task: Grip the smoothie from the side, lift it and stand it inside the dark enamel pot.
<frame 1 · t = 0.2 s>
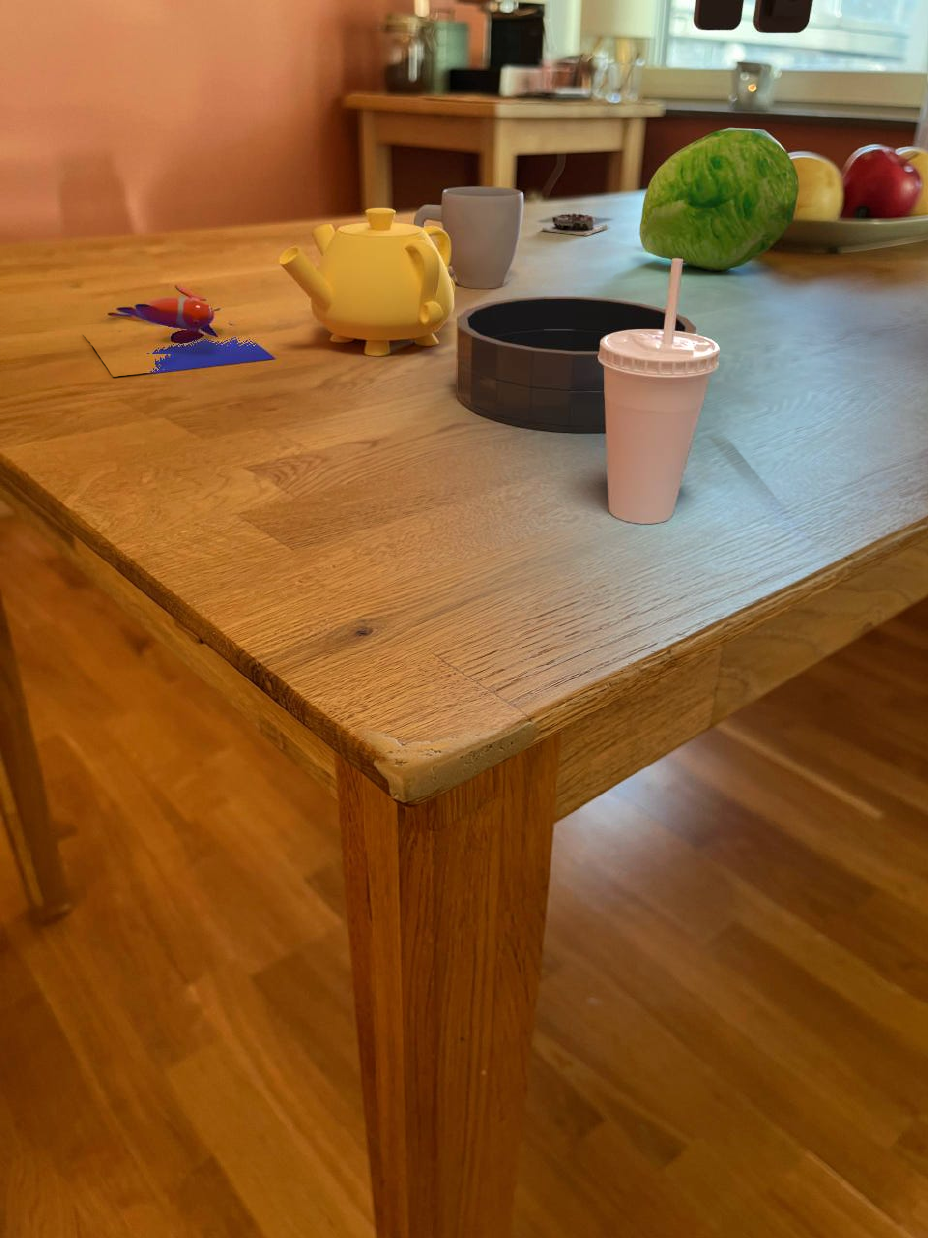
hand: (745, 31, 45), 24 cm above the table, tool pointing down, fingers open, 8 cm apart
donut: (576, 231, 145), on the table
fish: (176, 348, 87), on the table
lettuce: (705, 268, 121), on the table
mug: (466, 284, 111), on the table
smoothie: (640, 513, 57), on the table
pot: (570, 394, 76), on the table
teapot: (370, 342, 89), on the table
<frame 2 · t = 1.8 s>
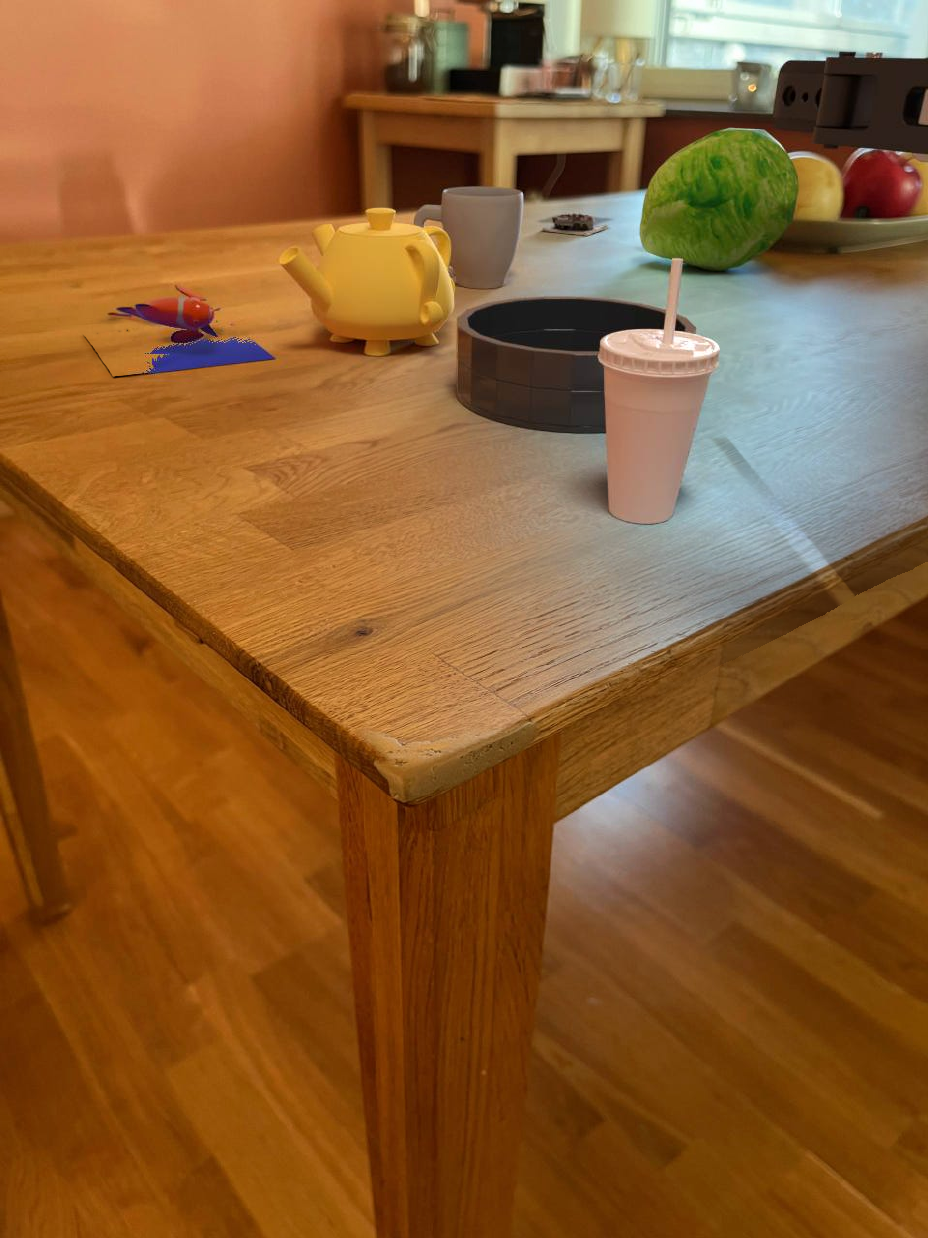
hand: (868, 94, 37), 22 cm above the table, tool horizontal, fingers open, 8 cm apart
nothing on the table moved.
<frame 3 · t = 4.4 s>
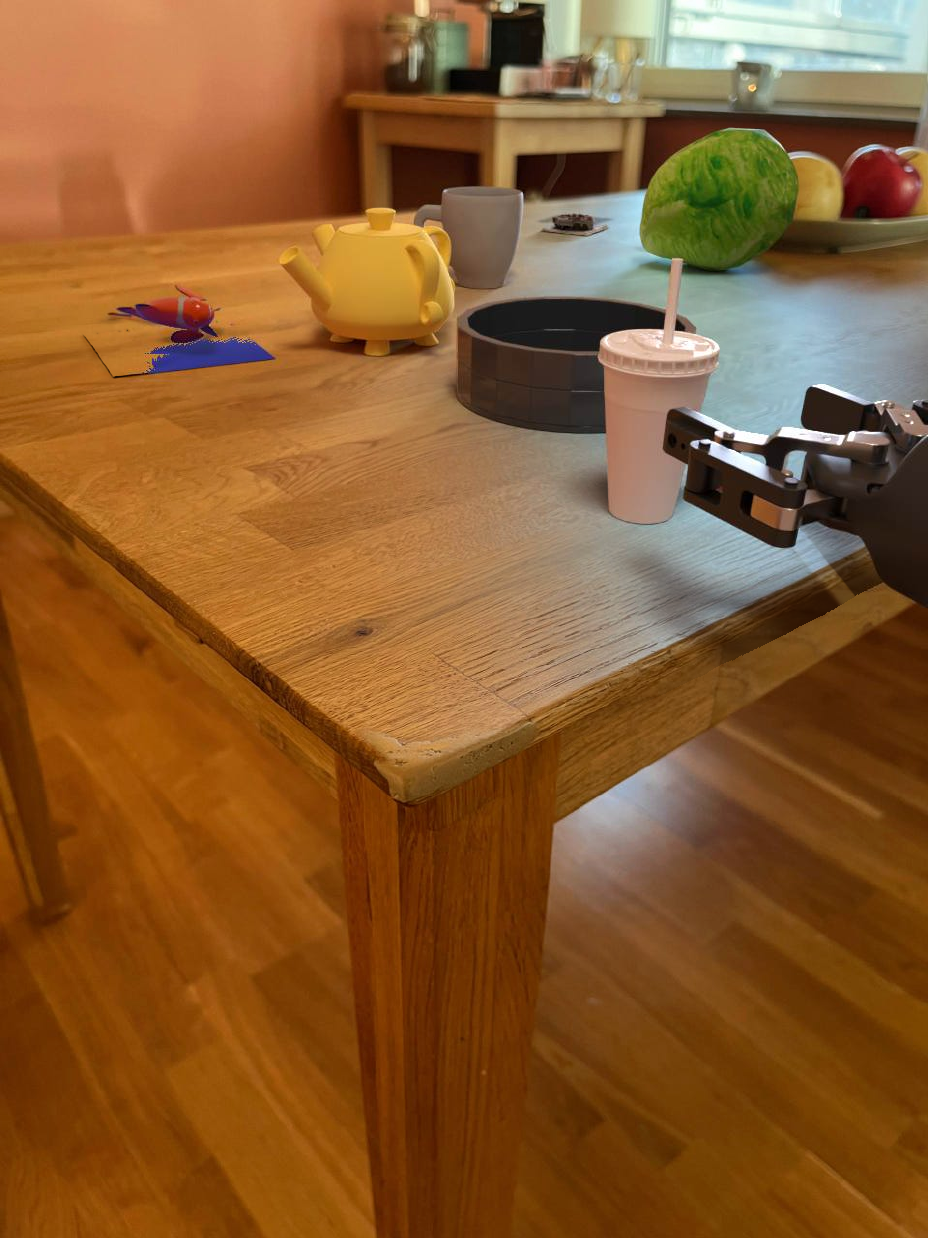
hand: (741, 415, 48), 8 cm above the table, tool horizontal, fingers open, 8 cm apart
nothing on the table moved.
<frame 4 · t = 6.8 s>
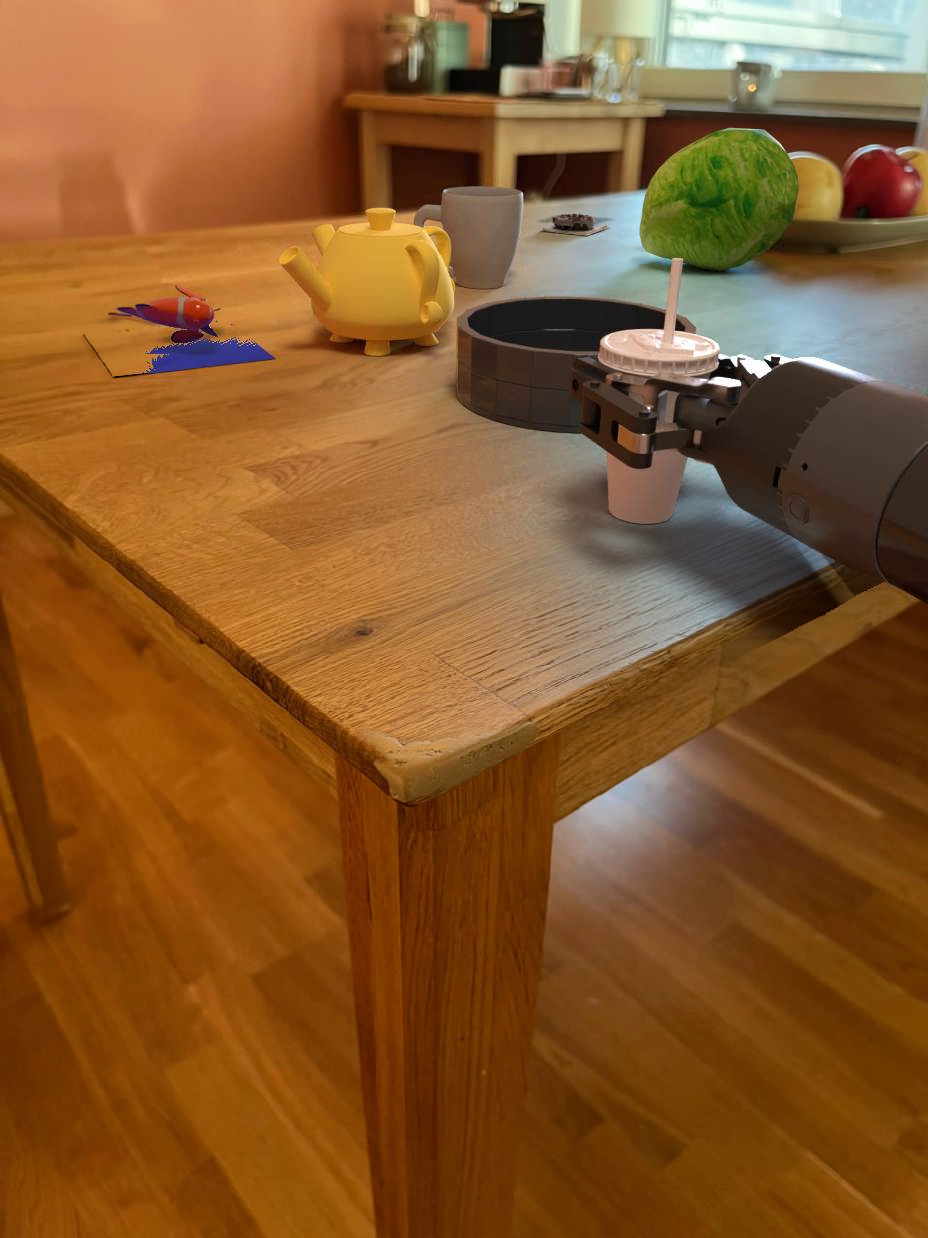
hand: (630, 368, 55), 8 cm above the table, tool horizontal, fingers closed on smoothie, 6 cm apart
smoothie: (640, 513, 57), on the table, touching gripper
everything else where it was.
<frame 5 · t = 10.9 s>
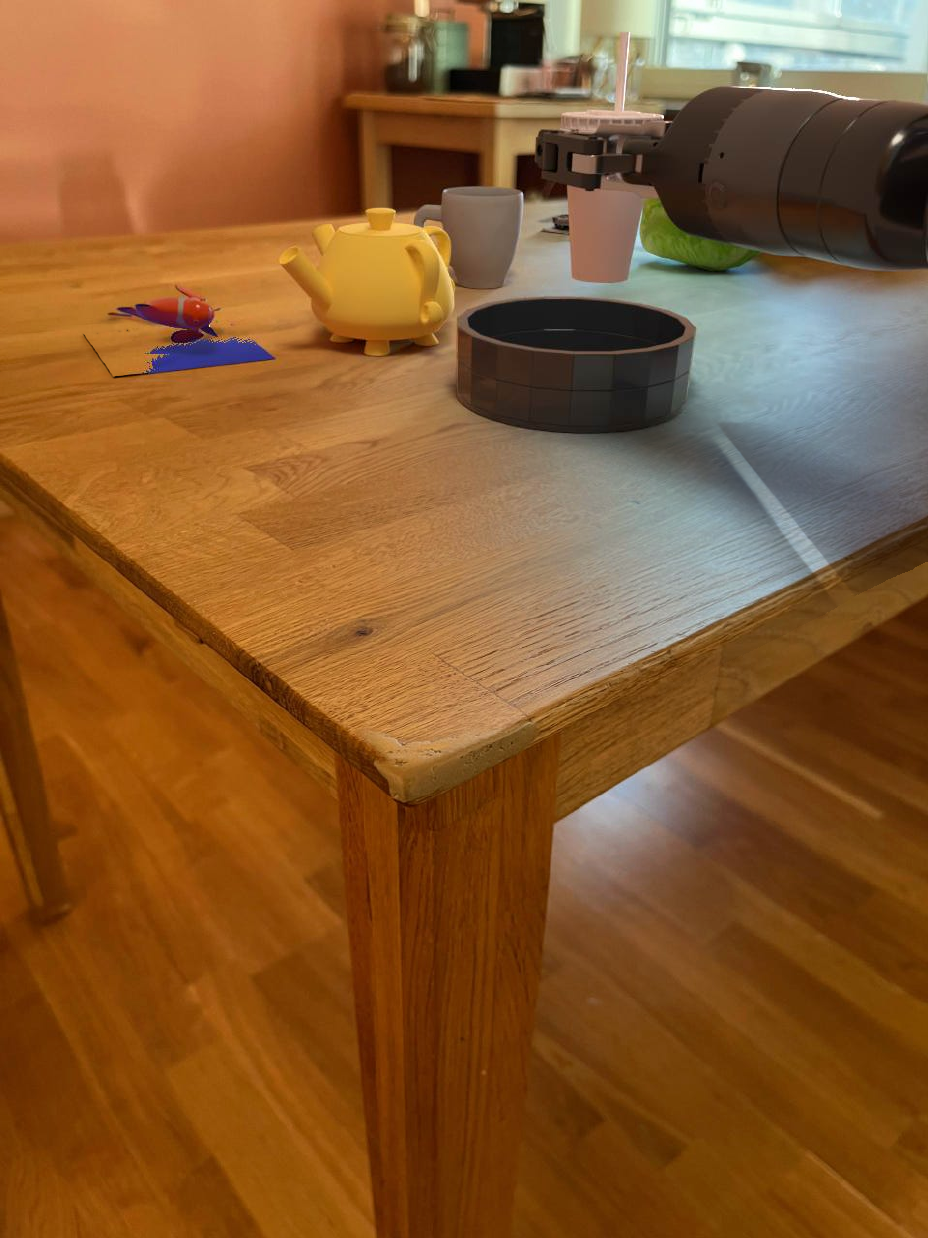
hand: (588, 146, 63), 18 cm above the table, tool horizontal, fingers closed on smoothie, 6 cm apart
smoothie: (599, 280, 65), point 10 cm above the table, touching gripper
everything else where it was.
when the fingers open (8 cm above the table, at t = 15.0 s): smoothie stays where it is, resting on pot.
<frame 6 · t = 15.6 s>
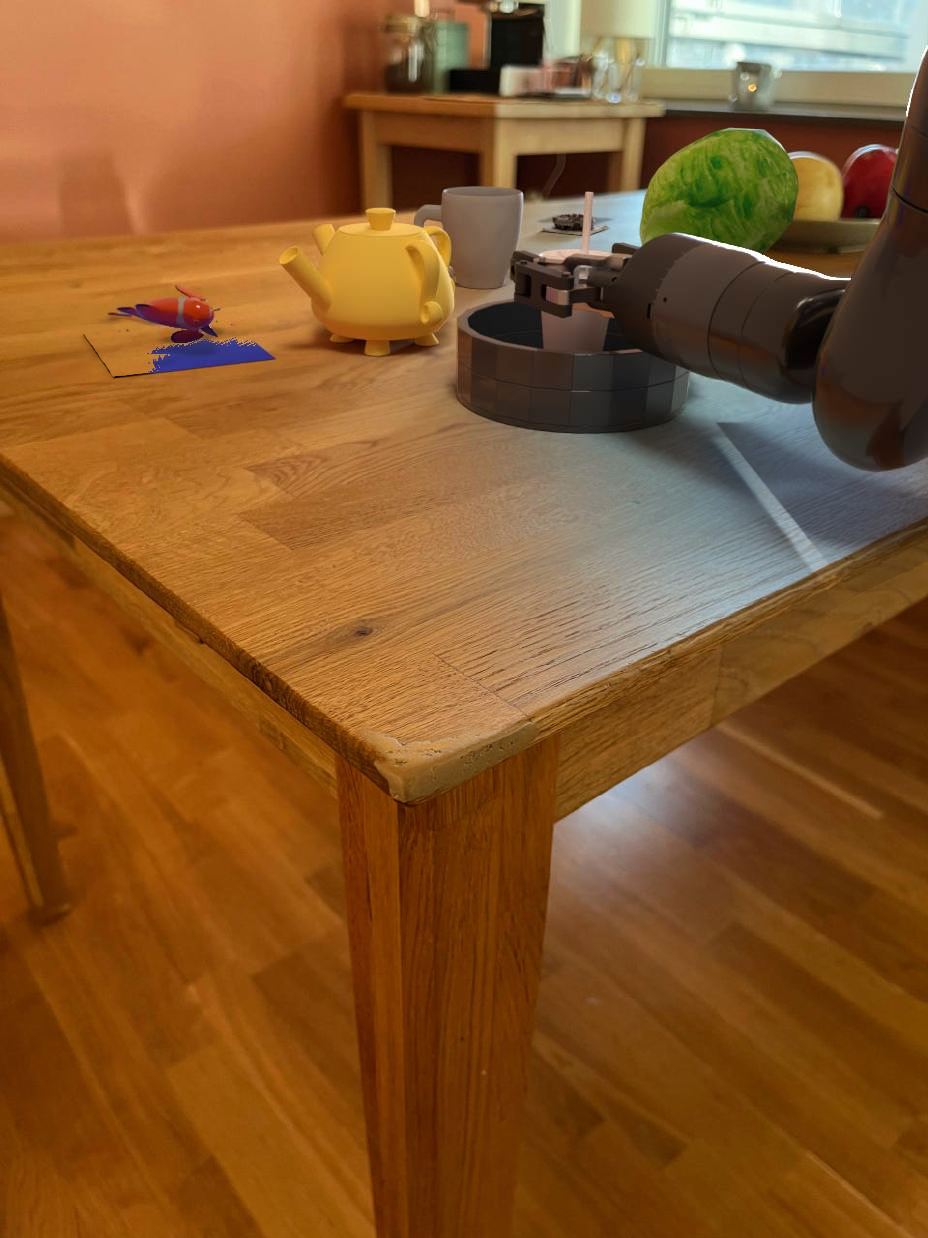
hand: (566, 261, 73), 10 cm above the table, tool horizontal, fingers open, 8 cm apart
smoothie: (570, 391, 76), resting on pot
everything else where it was.
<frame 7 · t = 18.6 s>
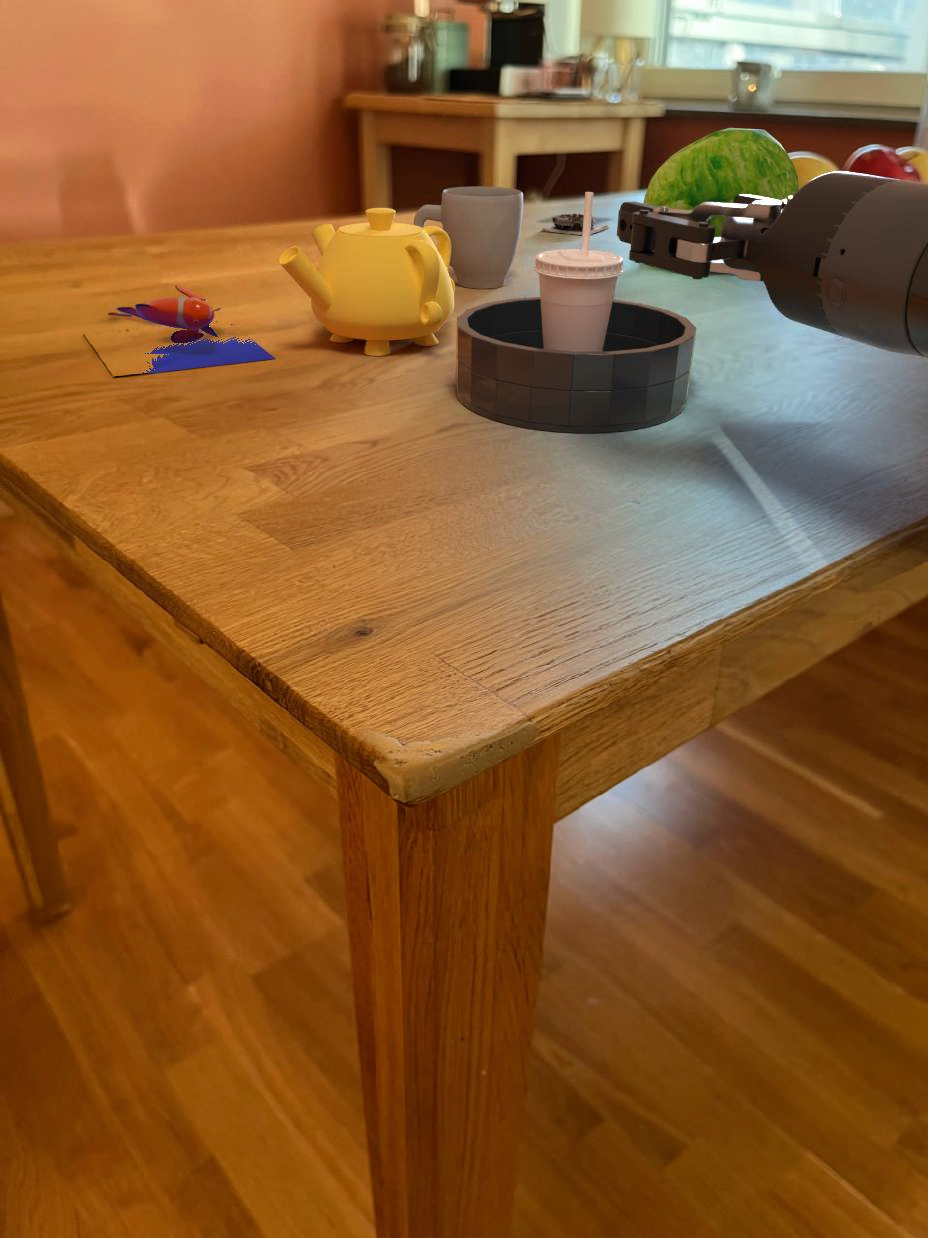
hand: (680, 216, 60), 14 cm above the table, tool horizontal, fingers open, 8 cm apart
nothing on the table moved.
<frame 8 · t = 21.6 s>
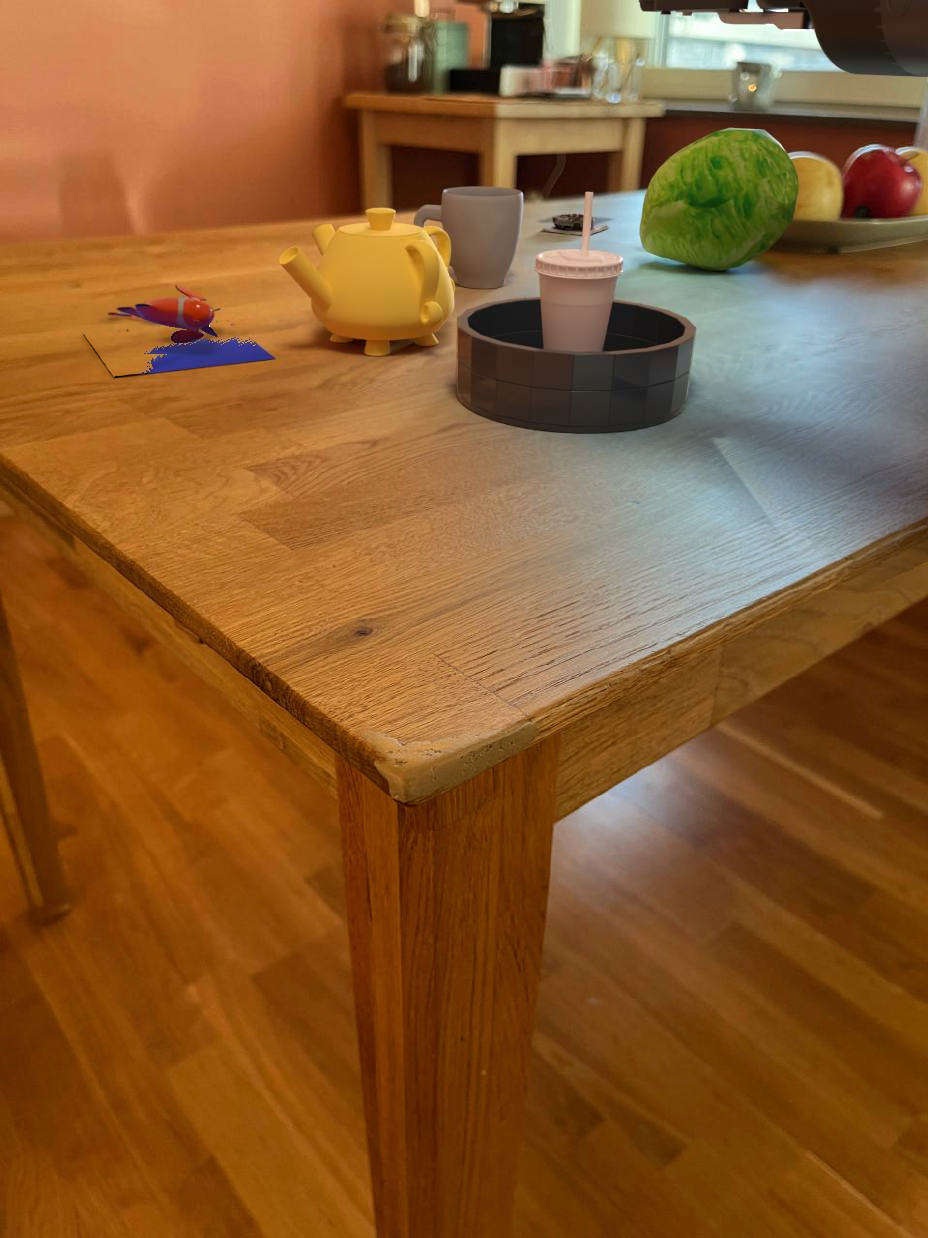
nothing on the table moved.
at the end: smoothie inside the target area in the pot (0.1 cm from its centre), point 0.3 cm above the pot's base; smoothie tilted 0°; the gripper is holding nothing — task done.
